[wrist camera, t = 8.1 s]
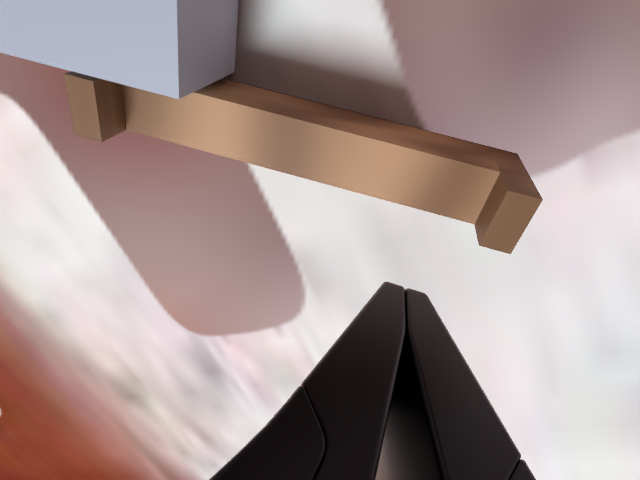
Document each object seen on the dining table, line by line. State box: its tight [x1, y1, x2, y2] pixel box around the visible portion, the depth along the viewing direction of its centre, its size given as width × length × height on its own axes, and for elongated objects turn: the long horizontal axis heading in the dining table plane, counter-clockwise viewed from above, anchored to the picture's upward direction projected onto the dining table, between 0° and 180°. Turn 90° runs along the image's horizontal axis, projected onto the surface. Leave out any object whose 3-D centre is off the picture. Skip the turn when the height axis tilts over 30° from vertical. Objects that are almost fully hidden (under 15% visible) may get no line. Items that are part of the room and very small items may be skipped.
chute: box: [64, 71, 543, 254], centre depth 14 cm, size 18×11×4 cm, turn 79°
